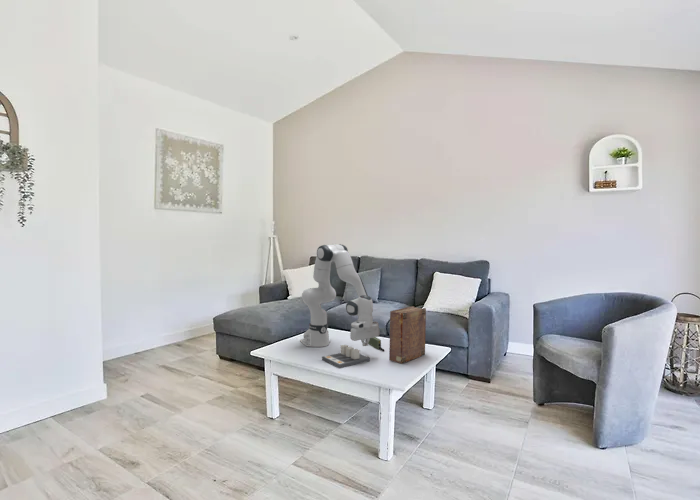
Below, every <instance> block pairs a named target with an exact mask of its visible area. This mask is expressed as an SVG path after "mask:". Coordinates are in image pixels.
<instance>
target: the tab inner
mask: <svg viewBox="0 0 700 500" xmlns="http://www.w3.org/2000/svg"><path fill="white" fill-rule="evenodd" d="M346 347H349V345H347V344H342V345H340V353H341V354H343V355H345V354H346Z"/></svg>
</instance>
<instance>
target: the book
mask: <svg viewBox="0 0 700 500" xmlns="http://www.w3.org/2000/svg"><path fill="white" fill-rule="evenodd" d="M389 315H390V316H389V348H388V349H389V357H388V359H389V361H392V362H394V363H398V364H401V365H403V364H404V363H407V362H410V361H413V360H416V359H418V358H420V357H424V356H425V355H426V330H427V329H426V327H427V326H426V325H427V324H426V323H427V319H426V318H427V317H426V316H427V308H426V307H425V308H420V307H415V306H414V305H412V306H407V307H404V308H403V307H402V308H398V309H395V310H391V311H390V312H389Z"/></svg>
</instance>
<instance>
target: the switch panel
mask: <svg viewBox="0 0 700 500" xmlns="http://www.w3.org/2000/svg"><path fill="white" fill-rule="evenodd" d="M321 360H322V361H324V362H326V363H328V364H330V365H332V366H334V367H336V368H338V369H343V368H347V367H351V366H355V365H359V364H364V363H368V362H370V357H369V356H366V355H363V354H361V353H359V359H355V360H354V359H352V358H351V357H348V356H346V354H345V355H343V354H341V352H337V353H334V354H333V353H331V354H328V355H322V356H321Z"/></svg>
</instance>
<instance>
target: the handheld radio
mask: <svg viewBox="0 0 700 500" xmlns="http://www.w3.org/2000/svg"><path fill="white" fill-rule="evenodd" d="M364 342H366V339H365V341H364ZM369 345H370V346H371V347H373V348H375V349H376V350H377V351H378V350H380V351H381V352H385V349H384V348H382V340H381V339H379V338H378V337H373V338H370V340H369V342H368V346H369Z"/></svg>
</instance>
